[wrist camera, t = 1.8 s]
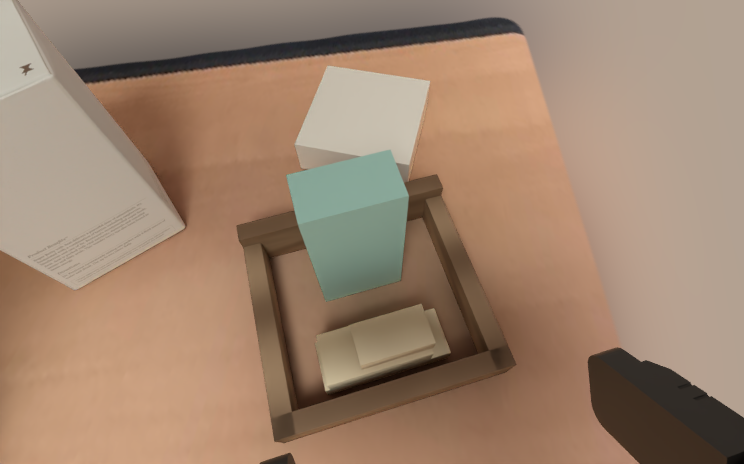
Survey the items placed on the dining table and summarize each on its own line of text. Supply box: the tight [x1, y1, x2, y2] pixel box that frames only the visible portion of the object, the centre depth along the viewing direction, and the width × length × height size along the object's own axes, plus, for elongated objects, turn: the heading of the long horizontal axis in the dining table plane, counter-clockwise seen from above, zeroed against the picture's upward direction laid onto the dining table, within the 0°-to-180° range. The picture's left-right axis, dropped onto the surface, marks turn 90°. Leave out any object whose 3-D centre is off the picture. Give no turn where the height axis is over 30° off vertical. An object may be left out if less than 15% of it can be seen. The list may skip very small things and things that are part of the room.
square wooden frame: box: [237, 174, 516, 443], centre depth 28 cm, size 14×14×4 cm
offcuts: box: [315, 304, 451, 395], centre depth 26 cm, size 3×8×4 cm, turn 106°
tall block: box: [286, 150, 409, 302], centre depth 26 cm, size 3×6×11 cm, turn 106°
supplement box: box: [0, 0, 185, 290], centre depth 27 cm, size 9×9×15 cm
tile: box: [294, 66, 430, 183], centre depth 35 cm, size 9×9×3 cm
